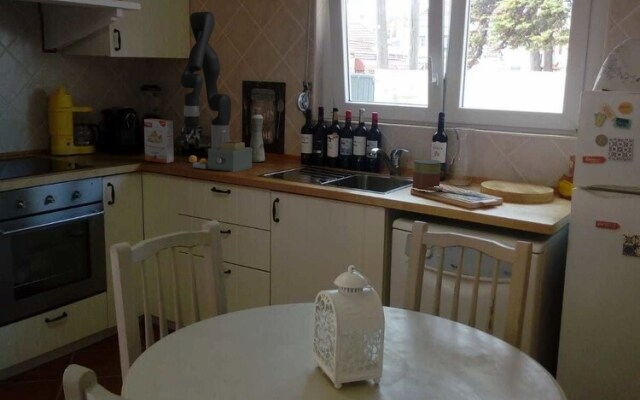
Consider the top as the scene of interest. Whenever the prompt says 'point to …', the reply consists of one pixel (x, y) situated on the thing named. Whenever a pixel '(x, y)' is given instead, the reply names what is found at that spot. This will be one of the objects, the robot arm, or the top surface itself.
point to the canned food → (426, 173)
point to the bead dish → (200, 165)
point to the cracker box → (158, 140)
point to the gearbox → (230, 157)
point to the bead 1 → (192, 159)
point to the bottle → (257, 137)
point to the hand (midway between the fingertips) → (191, 148)
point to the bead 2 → (203, 161)
